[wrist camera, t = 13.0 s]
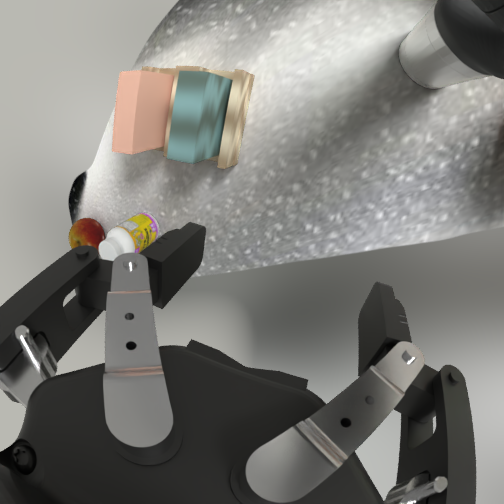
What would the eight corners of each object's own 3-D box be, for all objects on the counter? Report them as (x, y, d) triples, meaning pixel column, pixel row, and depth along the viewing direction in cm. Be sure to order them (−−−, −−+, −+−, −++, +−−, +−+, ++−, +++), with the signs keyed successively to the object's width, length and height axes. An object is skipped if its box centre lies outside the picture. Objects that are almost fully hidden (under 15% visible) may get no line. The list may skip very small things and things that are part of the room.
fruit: (116, 235, 58) (93, 251, 51) (103, 255, 63) (82, 270, 56) (92, 205, 57) (68, 218, 50) (81, 227, 61) (59, 240, 54)
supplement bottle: (158, 245, 56) (120, 277, 45) (134, 233, 56) (94, 260, 45) (163, 218, 52) (121, 246, 41) (137, 206, 53) (94, 230, 42)
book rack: (158, 69, 39) (114, 63, 29) (254, 75, 36) (227, 61, 26) (147, 146, 46) (105, 157, 36) (237, 164, 43) (206, 178, 33)
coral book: (162, 76, 38) (120, 71, 28) (182, 76, 37) (141, 70, 28) (154, 141, 44) (112, 151, 34) (172, 144, 43) (131, 154, 34)
